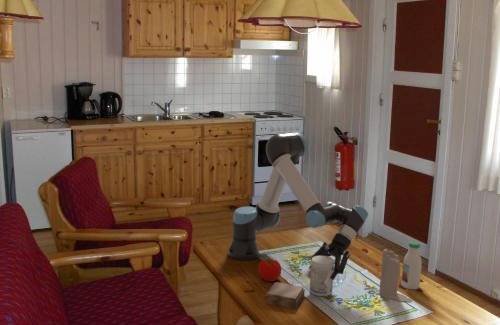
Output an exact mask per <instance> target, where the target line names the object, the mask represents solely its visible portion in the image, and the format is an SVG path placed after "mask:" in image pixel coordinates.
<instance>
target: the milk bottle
mask: <svg viewBox="0 0 500 325" xmlns="http://www.w3.org/2000/svg"><path fill="white" fill-rule="evenodd" d="M420 247H421V244H420V242H417V241H409V243H408V251H407V253H406V254H405V256H404V258H403V264H402V272H401V273H402V274H401V284H400V285H401V287H402V288H405V289H408V290H418V289H419V288H420V283H421V276H422V275H421V274H422V262H423V261H422V257H421V254H420Z"/></svg>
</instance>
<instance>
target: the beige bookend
mask: <svg viewBox="0 0 500 325" xmlns="http://www.w3.org/2000/svg"><path fill="white" fill-rule="evenodd" d="M400 261H401V259H400V258H399V255H398V254H395V253H394V251H393V250H389V249H387V248H385V249H383V251H382V258H381V271H380V272H381V273H380V279H379V280H380V282H379V289H378V290H379V291H378V294H379V296H380V297H382V298H384V299H385V298H386V299H389V300H392V301H397V302H402V303H403V302H404V303H405V302H406V303H412V301H413V299H412V298H410V297H407V296H406V295H404V294H402V293H398V283H399V279H400V275H401V263H400Z"/></svg>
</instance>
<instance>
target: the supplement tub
mask: <svg viewBox="0 0 500 325" xmlns="http://www.w3.org/2000/svg"><path fill="white" fill-rule="evenodd" d="M334 264H335V259H333V257H331V256H330V257H328V256H315V257H313V258H312V260H311V262H310V265H311V274H310V279H309V291H310V293H311V294H312V295H314V296H317V297H328V296H330V295H331V294H333V287H334V286H333V284H334V280H332V281H331V283H330V284H329V286H328V287H327V286H326V285H325V284H324V281H325V280H326V278H327V277H328V275H329V274H330V272H331V270H333V269H334ZM333 271H334V270H333Z"/></svg>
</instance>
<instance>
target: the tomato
mask: <svg viewBox="0 0 500 325" xmlns="http://www.w3.org/2000/svg"><path fill="white" fill-rule="evenodd" d="M257 266H258V267H257V268H258V269H257V270H258V274H259V276H260V277H261V279H263V280H264V281H266V282H275V281H276V280H277V279H278V278H279V277H280V276H281V275H282V266H281V263H280V262H279V261H278V260H277V259H273V258H265V259H263V260H261V261H260V262H259V263H258V265H257Z"/></svg>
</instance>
